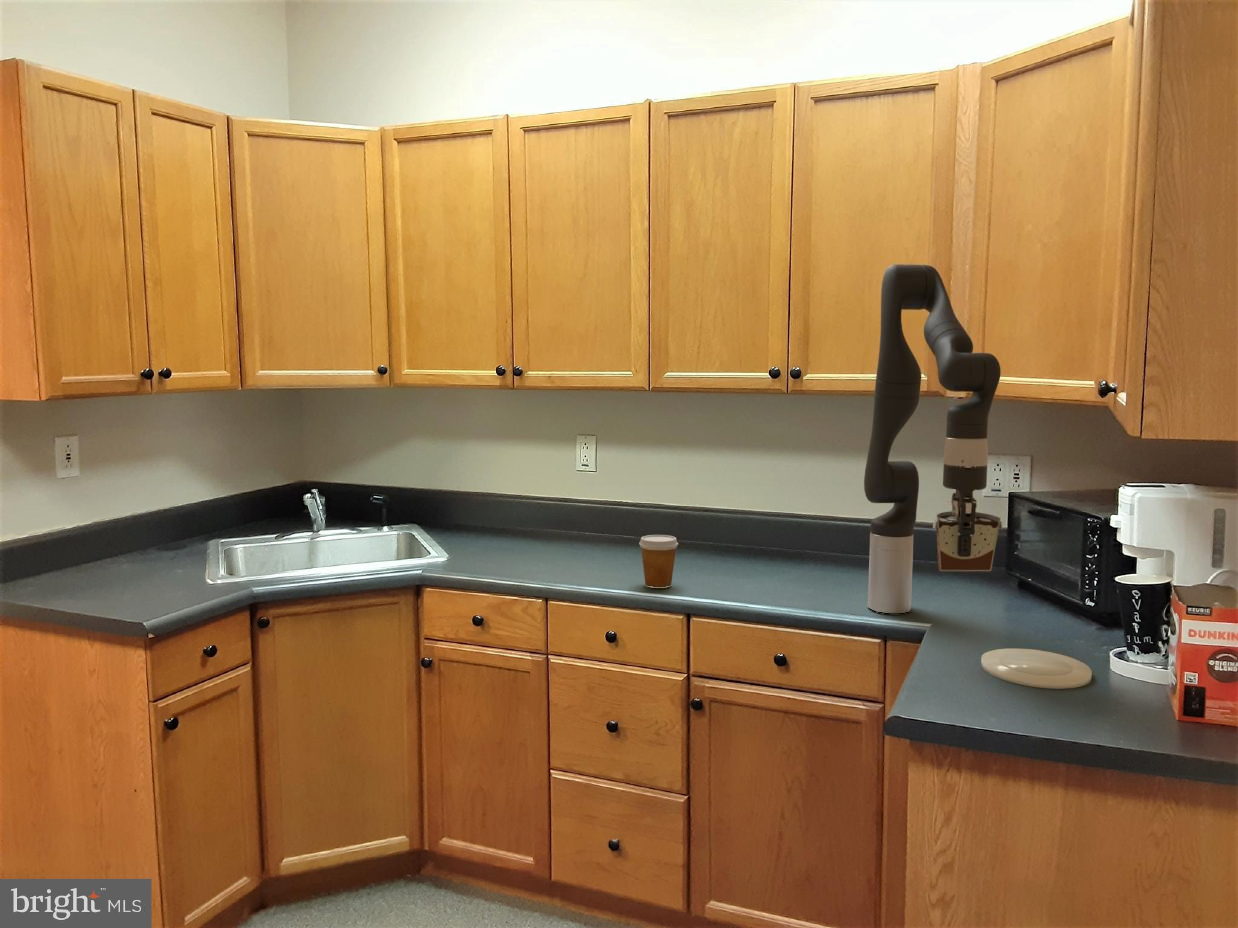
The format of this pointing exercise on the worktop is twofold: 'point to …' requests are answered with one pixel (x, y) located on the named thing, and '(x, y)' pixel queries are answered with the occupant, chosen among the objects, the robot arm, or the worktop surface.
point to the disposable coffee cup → (658, 559)
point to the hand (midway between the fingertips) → (961, 552)
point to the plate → (1036, 668)
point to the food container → (980, 542)
